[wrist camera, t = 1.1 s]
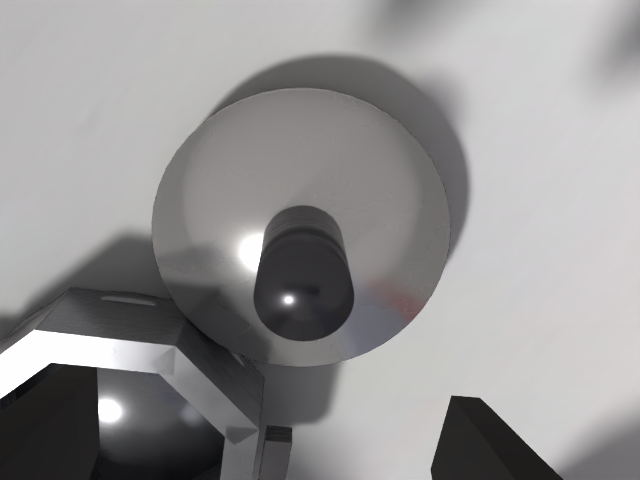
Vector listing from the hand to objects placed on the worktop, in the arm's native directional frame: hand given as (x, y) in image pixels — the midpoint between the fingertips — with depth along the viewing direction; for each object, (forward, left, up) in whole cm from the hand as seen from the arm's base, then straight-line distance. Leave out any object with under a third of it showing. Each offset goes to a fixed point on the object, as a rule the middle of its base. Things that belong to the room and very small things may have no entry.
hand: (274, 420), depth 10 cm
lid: (-1, -1, -10) cm, 10 cm away
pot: (+5, +9, -9) cm, 14 cm away
